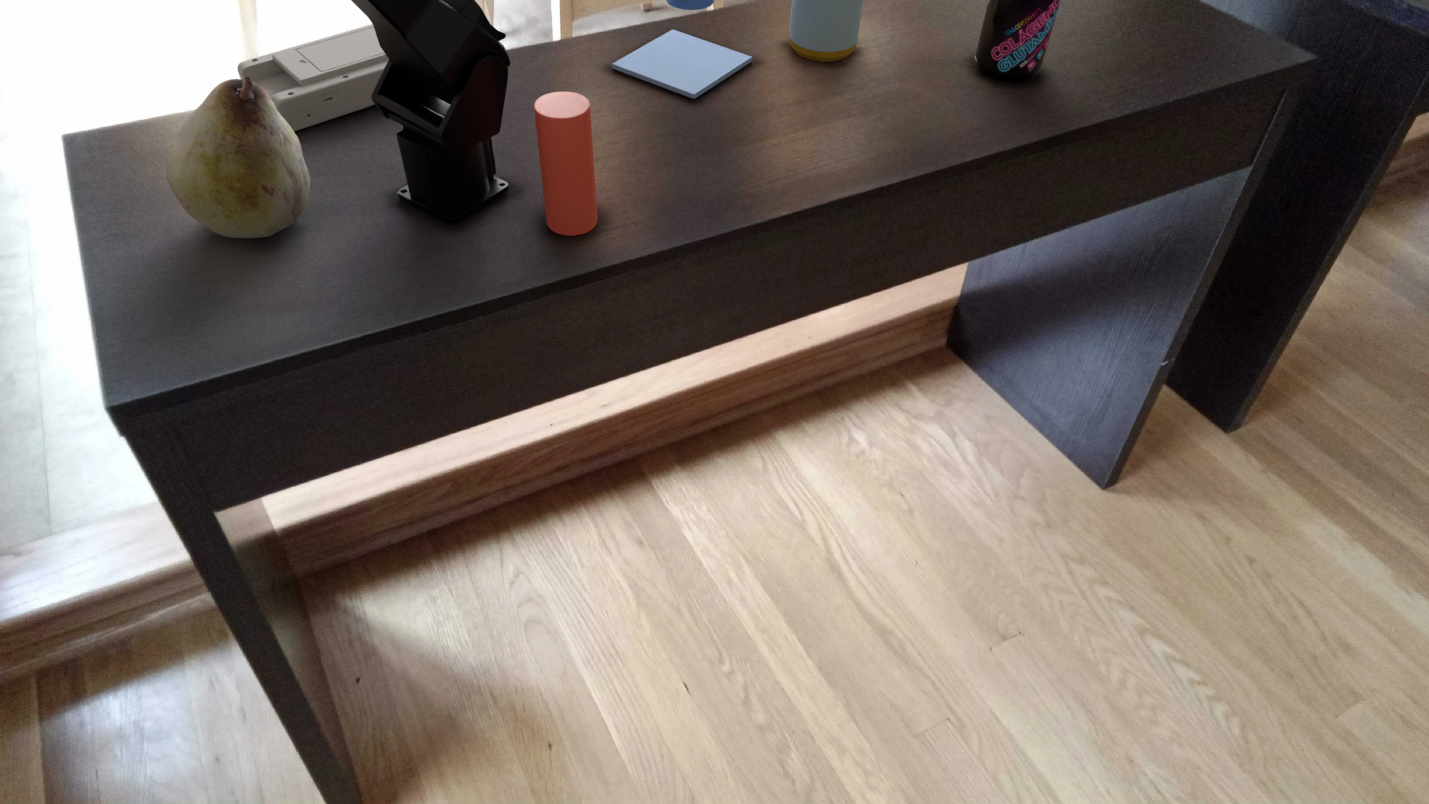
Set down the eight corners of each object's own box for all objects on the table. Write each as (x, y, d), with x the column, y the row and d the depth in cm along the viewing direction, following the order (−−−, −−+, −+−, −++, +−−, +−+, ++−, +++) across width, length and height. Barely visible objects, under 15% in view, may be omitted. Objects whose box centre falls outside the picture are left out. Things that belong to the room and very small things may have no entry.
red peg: (574, 242, 73) (564, 124, 66) (536, 223, 75) (521, 106, 68) (607, 218, 76) (601, 102, 68) (569, 201, 77) (559, 85, 70)
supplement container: (968, 77, 95) (994, -30, 87) (976, 48, 99) (1001, -56, 92) (1037, 89, 93) (1069, -19, 86) (1042, 59, 98) (1072, -45, 91)
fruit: (328, 248, 72) (282, 100, 63) (193, 273, 69) (126, 123, 60) (315, 178, 78) (271, 36, 70) (191, 198, 76) (130, 53, 67)
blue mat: (694, 99, 90) (694, 94, 89) (611, 68, 94) (611, 63, 93) (752, 61, 96) (752, 56, 95) (672, 33, 99) (672, 29, 99)
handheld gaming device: (383, 14, 92) (392, 52, 94) (232, 57, 85) (246, 97, 87) (429, 47, 87) (437, 86, 90) (273, 96, 80) (286, 136, 83)
